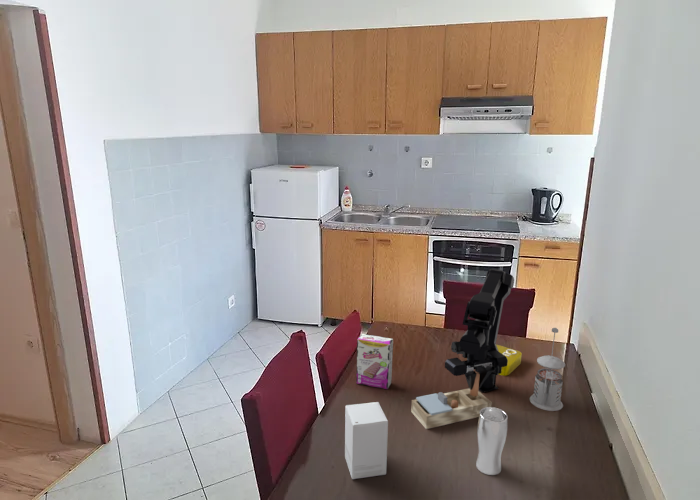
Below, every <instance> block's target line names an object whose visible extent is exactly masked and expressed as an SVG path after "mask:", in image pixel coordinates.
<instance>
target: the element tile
mask: <svg viewBox="0 0 700 500" xmlns="http://www.w3.org/2000/svg"><path fill="white" fill-rule="evenodd" d="M496 346H497V348H498V351H499V352H500V353H501V354H503V355H504V356H506V357H507V359H508V363H507V366H505V367H502V370H501V374H498V375H500V376H503V377H506V376H510V374H511V373H512V372H514V371H515V370H516V369H517V368H518V367H519V366H520V365H521V364H522V355H523V354H522V352H521V351H519V350H516V349H513V348H510V347H506V346H504V345H499V344H497V343H496Z"/></svg>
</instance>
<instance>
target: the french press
mask: <svg viewBox="0 0 700 500" xmlns="http://www.w3.org/2000/svg"><path fill="white" fill-rule="evenodd" d="M551 328H552V327H551ZM551 332H552V333H554V334H553V340H552V349H551V355H543V356H539V357H537V359H536V361H537V362H536V363H537V364H538V365H539V366H541V367H542V368H541V369H538V370H537V371H536V375H535V377H534V388H533V394H532V395H530V397H529V402H530V403H531V404H532V405H533V406H534V407H536V408H538V409H541V410H544V411H549V412H554V411H556V412H557V411H560V410H562V409H563V407H564V404H563V402H562V401H561V400H562V399H561V397H562V393H563V392H562V389H563V383H564V382H563V381H564V380H563V375H562V373H560V372H559V371H557V370H561V369H563V368H565V367H566V363H565V362H564V361H563V360H562V359H560V358H559V357H558V356H554V355H553V353H554V344H555V338H556V334H557V333H559V329H558V328H557V327H553V328H552V329H551Z"/></svg>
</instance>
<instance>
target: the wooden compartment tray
mask: <svg viewBox="0 0 700 500" xmlns="http://www.w3.org/2000/svg"><path fill="white" fill-rule="evenodd" d="M443 394H444V395H445V396H446V397H447V404H448V405H449V406H450V407H451V408H452V411H449V412H445V413H440V414H436V415H430V413H429V412H428V411H427V410H426V409H425V408H424V407H423V406H422V405H421V404H420V403H419V402H418V401H417V399H416V398H415V399H411V407H410V408H411V409H410V411H411V414H412V415H414V417H415V419H417V421H419V423H420V424H421V425H422V426H423V427H424V429H425V430H428V429H429V430H430V429H434V428H438V427H441V426H445V425H450V424H453V423H458V422H463V421H466V420H472V419H475V418H479V414H480V410H481V409H482V408H485V407H492V406H493V405H492V404H493V403H492V401H491V400H490V399H489V398H488V397H486V396H485V395H484V394H483V393H482V392H481V391H480V390H478V396H472V395H470V389H469V387H468V388H464V389H460V390H454V391H449V392H444V393H443Z"/></svg>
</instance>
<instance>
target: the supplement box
mask: <svg viewBox="0 0 700 500" xmlns="http://www.w3.org/2000/svg"><path fill="white" fill-rule="evenodd" d="M344 414H345V416H344V419H345V420H344V422H345V423H344V424H345V425H344V426H345V427H344V458H345V461H346V465H347V468H348V470H349V473H350V474H349V475H350V477H351V480H356V479H363V478H371V477H376V476H385V475H387V461H388V458H387V457H388V435H389V434H388V433H389V432H388V431H389V420H388V419H387V416H386V414H385V412H384V411H383V409H382V407H381V405H380V402H379V401H376V402H374V401H373V402H367V403H366V402H365V403H355V404H346V405H345V410H344Z"/></svg>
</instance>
